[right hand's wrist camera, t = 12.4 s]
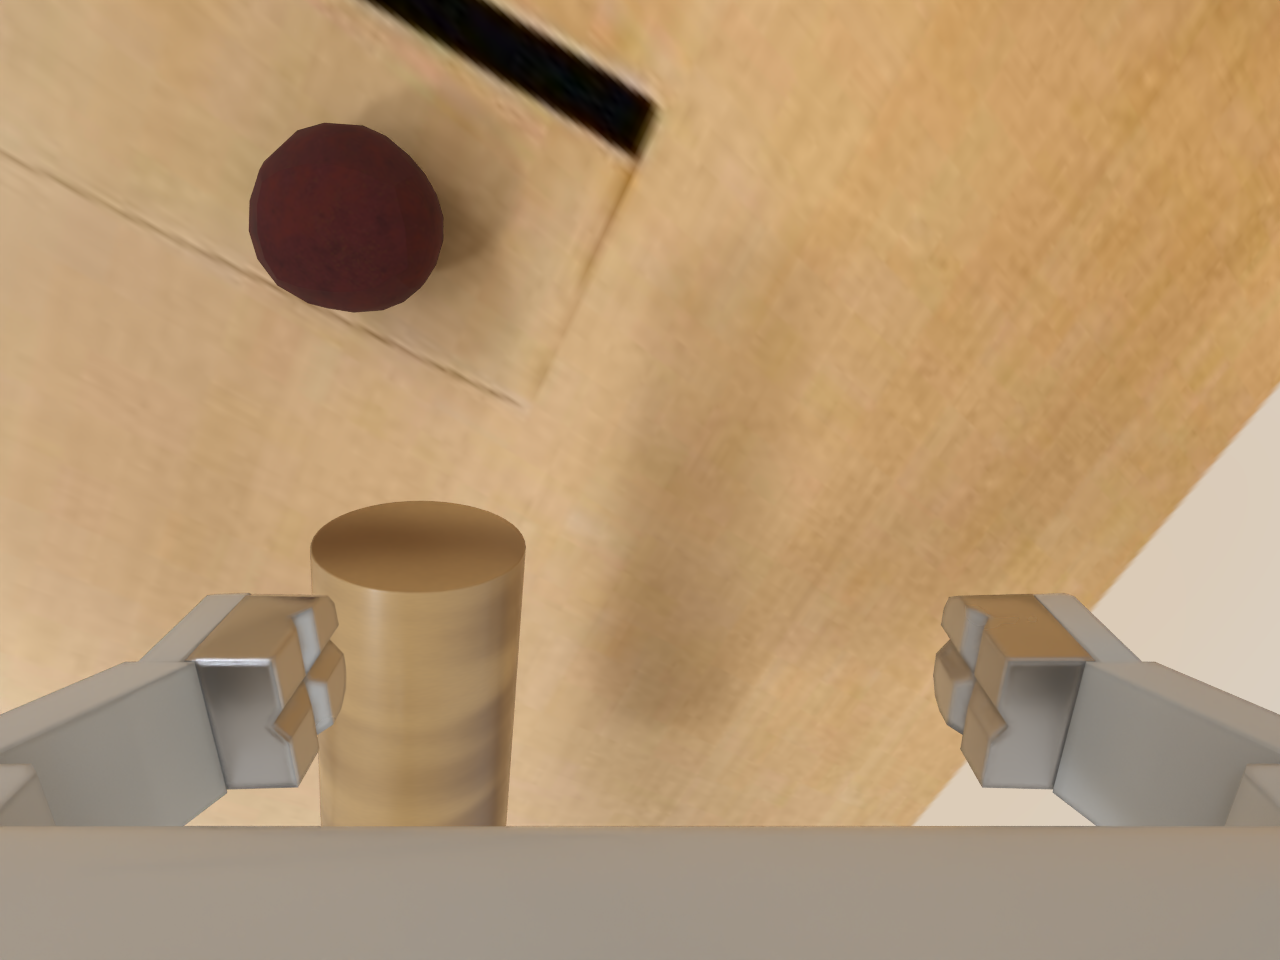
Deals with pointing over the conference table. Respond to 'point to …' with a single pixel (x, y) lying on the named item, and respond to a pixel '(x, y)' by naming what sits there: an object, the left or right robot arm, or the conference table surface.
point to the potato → (345, 219)
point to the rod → (421, 664)
